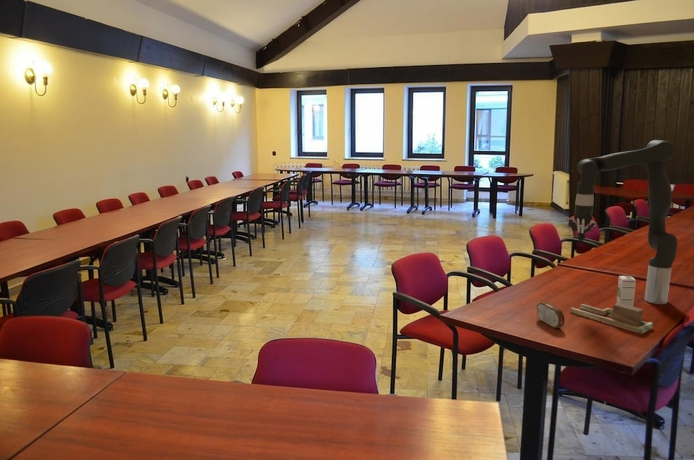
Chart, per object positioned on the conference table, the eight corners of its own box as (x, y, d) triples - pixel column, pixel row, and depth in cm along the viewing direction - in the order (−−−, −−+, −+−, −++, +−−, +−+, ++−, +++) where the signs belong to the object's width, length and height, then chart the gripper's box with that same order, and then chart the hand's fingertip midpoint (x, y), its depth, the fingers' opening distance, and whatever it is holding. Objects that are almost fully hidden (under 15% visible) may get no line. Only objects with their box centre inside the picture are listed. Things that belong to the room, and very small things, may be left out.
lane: (586, 306, 241) (587, 300, 240) (657, 326, 217) (657, 320, 217) (570, 312, 233) (570, 307, 232) (641, 334, 209) (642, 328, 208)
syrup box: (633, 311, 235) (636, 279, 232) (618, 310, 236) (622, 278, 233) (629, 306, 240) (632, 276, 237) (615, 305, 242) (618, 275, 239)
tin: (564, 330, 212) (566, 310, 210) (557, 331, 211) (559, 311, 210) (540, 317, 226) (542, 299, 225) (534, 318, 225) (536, 299, 224)
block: (616, 320, 223) (618, 302, 222) (640, 328, 216) (643, 309, 214) (611, 322, 221) (613, 304, 219) (636, 330, 213) (638, 311, 212)
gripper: (602, 204, 238) (599, 242, 241) (575, 201, 248) (572, 237, 252) (594, 206, 233) (590, 244, 237) (566, 202, 244) (563, 239, 247)
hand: (581, 240), depth 244 cm, fingers closed
